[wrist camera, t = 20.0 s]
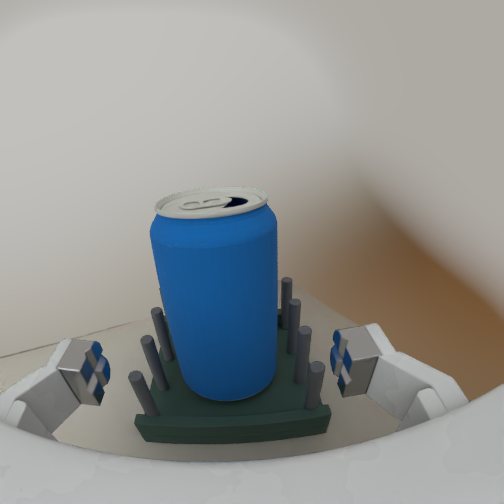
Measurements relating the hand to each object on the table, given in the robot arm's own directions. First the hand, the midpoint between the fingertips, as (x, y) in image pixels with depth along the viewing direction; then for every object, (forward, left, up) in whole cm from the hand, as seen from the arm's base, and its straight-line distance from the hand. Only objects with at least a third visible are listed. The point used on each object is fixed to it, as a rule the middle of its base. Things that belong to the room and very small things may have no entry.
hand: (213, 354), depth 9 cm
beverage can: (0, -7, -9) cm, 11 cm away
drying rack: (0, -7, -10) cm, 12 cm away
